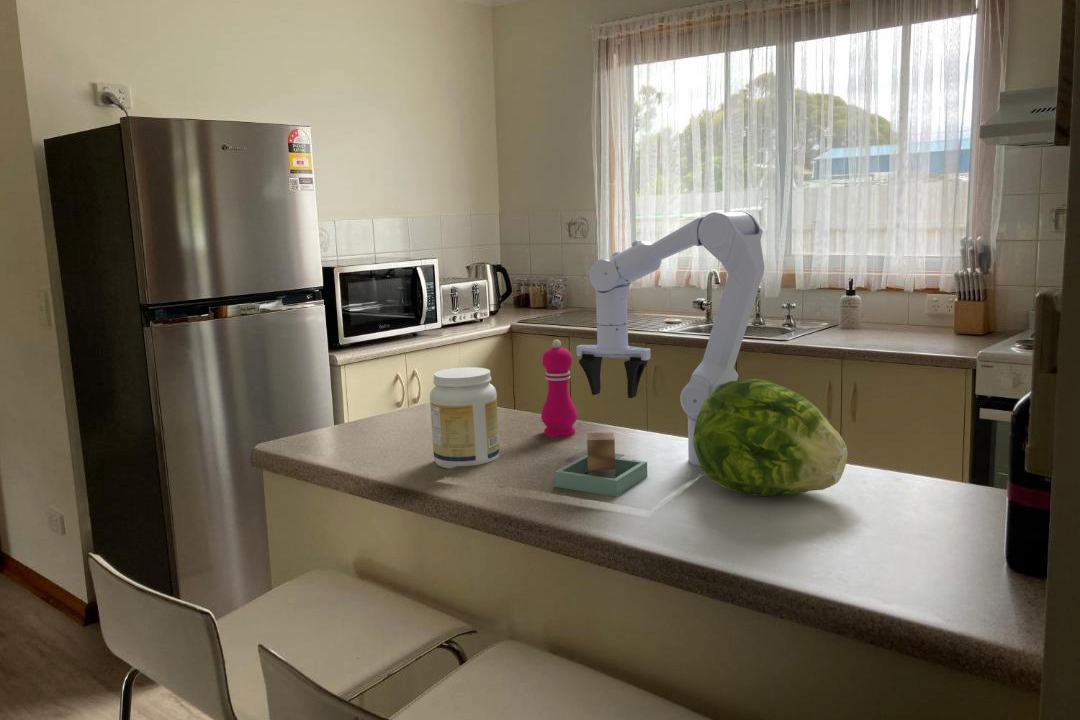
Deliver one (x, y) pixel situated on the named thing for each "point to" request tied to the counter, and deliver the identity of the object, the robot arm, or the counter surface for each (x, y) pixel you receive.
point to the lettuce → (767, 440)
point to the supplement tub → (464, 417)
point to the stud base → (586, 454)
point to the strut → (601, 454)
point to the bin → (577, 480)
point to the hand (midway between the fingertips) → (613, 395)
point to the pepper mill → (558, 393)
